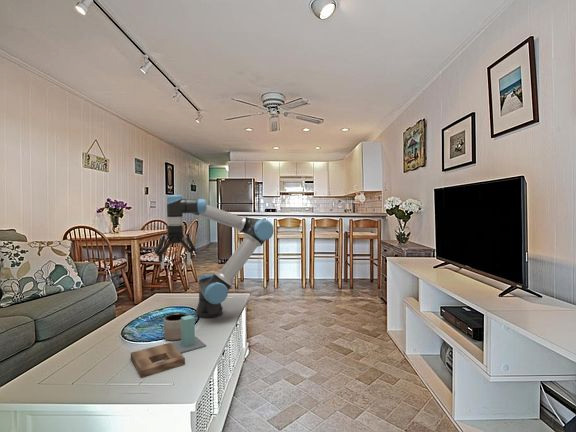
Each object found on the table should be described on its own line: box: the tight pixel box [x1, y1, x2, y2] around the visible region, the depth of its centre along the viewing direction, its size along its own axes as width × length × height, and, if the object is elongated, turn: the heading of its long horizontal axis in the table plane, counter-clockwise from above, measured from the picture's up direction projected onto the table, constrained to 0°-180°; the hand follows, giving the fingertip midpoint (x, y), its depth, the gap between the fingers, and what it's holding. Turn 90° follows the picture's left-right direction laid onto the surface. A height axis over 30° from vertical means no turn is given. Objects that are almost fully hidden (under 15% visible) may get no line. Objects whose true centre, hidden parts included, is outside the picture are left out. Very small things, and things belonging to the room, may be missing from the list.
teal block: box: [181, 314, 196, 347], centre depth 141 cm, size 4×4×12 cm
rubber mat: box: [170, 336, 207, 354], centre depth 141 cm, size 12×12×1 cm
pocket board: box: [130, 342, 186, 379], centre depth 126 cm, size 16×18×2 cm
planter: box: [163, 312, 189, 342], centre depth 151 cm, size 11×11×10 cm
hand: (176, 266), depth 162 cm, fingers open, 13 cm apart
